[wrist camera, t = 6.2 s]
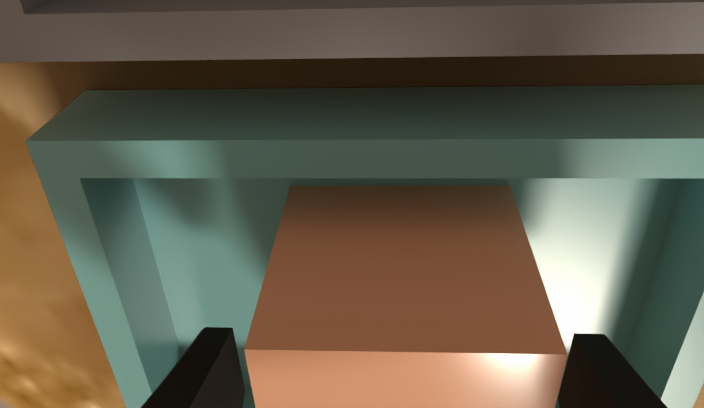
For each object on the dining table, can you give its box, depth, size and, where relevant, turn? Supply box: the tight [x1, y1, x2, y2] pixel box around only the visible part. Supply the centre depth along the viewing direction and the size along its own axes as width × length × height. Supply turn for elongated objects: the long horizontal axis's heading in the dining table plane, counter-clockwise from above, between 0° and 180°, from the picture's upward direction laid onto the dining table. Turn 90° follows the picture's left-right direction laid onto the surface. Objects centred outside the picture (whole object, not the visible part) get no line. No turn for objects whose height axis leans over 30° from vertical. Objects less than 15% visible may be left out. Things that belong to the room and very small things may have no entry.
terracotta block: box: [244, 185, 568, 408], centre depth 12 cm, size 5×5×5 cm
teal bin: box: [26, 84, 704, 408], centre depth 14 cm, size 14×10×2 cm
